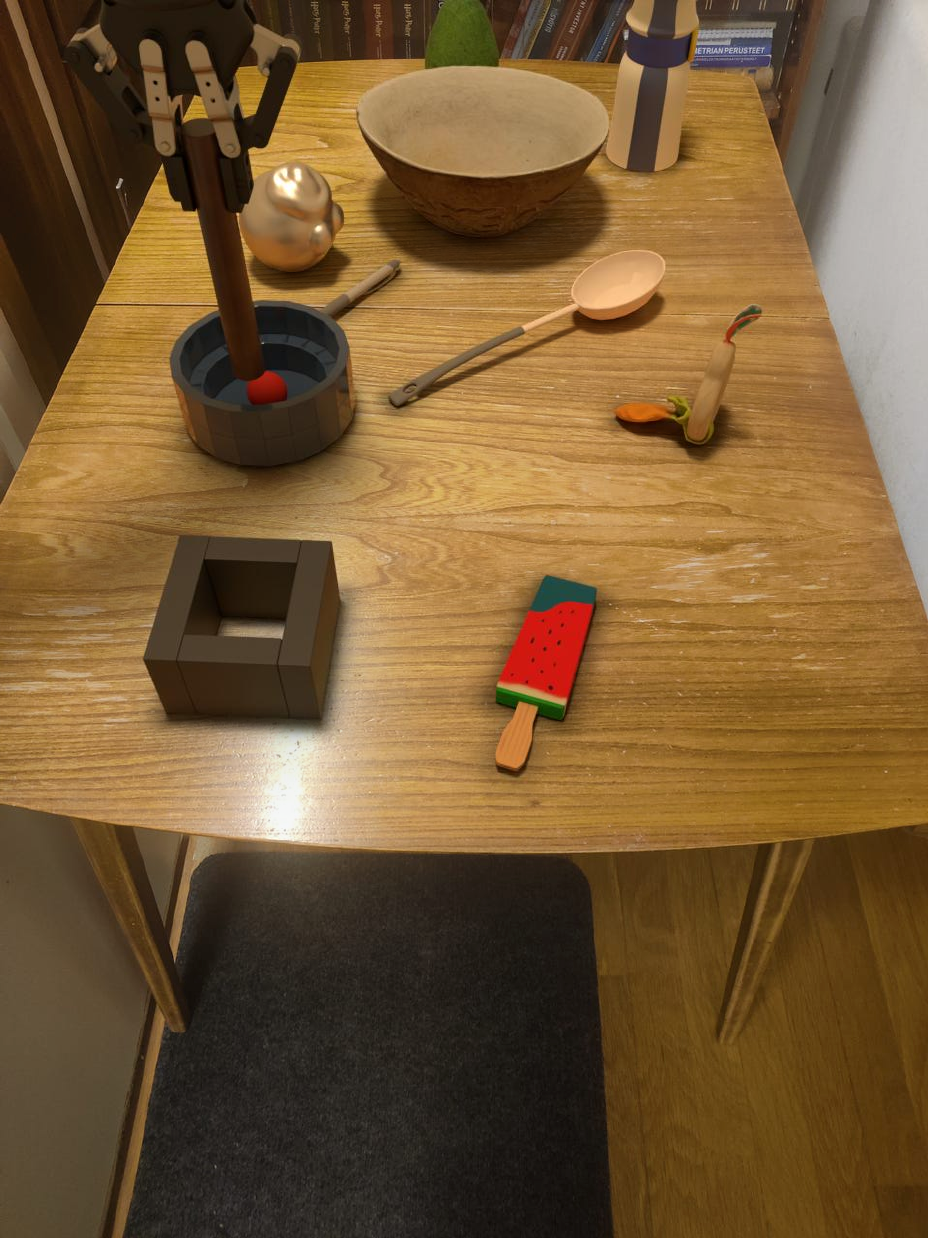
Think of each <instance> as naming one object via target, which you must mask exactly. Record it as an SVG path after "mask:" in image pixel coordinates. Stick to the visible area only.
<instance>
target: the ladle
mask: <svg viewBox="0 0 928 1238" xmlns="http://www.w3.org/2000/svg"><path fill="white" fill-rule="evenodd" d="M666 268H667V267H666V261H665V260H664V258H663V257H662V256H661V254H659V253H657V252H655V251H652V250H646V249H632V250H631V249H629V250H624V251H620V252H616V253H613V254H610V255H607V256H605V257H603V258H601V259H599V260H597V261H595V262H594V263H592V264H591V265H589V266H588V267H586V268H585V269H584V270H583V271H582V272H581V273H579V275H578V276H577V277H576V278H575V280H574V282H573V284H572V286H571V287H570V289H571V290H570V297H571V301H572V303H571V304H569V305H567V306H564V307H563V308H560V309H558V310H556V311H553V312H551V313H549V314H546V315H544V316H542V317H540V318H537V319H535V320H533V321H530V322H528V323H526V324H523V325H520V326H518V327H516V328H513V329H511V330H509V331H506V332H504V333H501V334H499V335H497V336H495V337H493V338H490V339H488V340H486V341H484V342H483V343H480V344H478V345H476V346H474V347H472V348H470V349H468V350H466V351H464V352H462V353H460V354H459V355H456V356H454V357H452V358H451V359H449V360H447V361H445V362H442V363H441V364H440V365H437V366H436V367H433V368H432V369H430V370H428V371H426V372H425V373H423V374H421V375H419V376H416V377H415V378H413V379H411V380H410V381H408V382H407V383H406V384H404V385H402V386H400V387H399V388H397V389H396V390H394V391H392V392H390V393H389V394H388V396H387V397H388V399H389V401H390V402H391V403H392V404H393V405H394V406H395V407H400V406H401V405H403V404H404V403H406V402H407V401H409V400H411V399H413V397H414V396H415V395H418V394H420V393H421V392H423V391H424V390H425V389H426V388H428V387H429V386H432V385H433V384H434V383H435V382H437V381H438V380H440V379H441V378H443V377H444V376H446V375H447V374H448V373H450V372H451V371H453V370H455V369H457V368H459V367H460V366H462V365H464V364H466V363H468V362H470V361H471V360H473V359H476V358H477V357H479V356H481V355H483V354H485V353H487V352H489V351H491V350H493V349H495V348H497V347H499V346H501V345H504V344H506V343H507V342H510V341H512V340H514V339H517V338H519V337H521V336H522V335H525V334H526V333H529V332H530V331H534V330H536V329H538V328H540V327H542V326H545V325H547V324H549V323H552V322H553V321H556V320H557V319H560V318H562V317H566V316H567V315H569V314H572V313H574V312H576V311H577V312H579V313H580V314H582V315H584V316H586V317H588V318H589V319H592V320H599V321H604V320H605V321H606V320H614V319H617V318H618V319H619V318H621V317H625V316H627V315H629V314H631V313H633V312H636V311H637V310H639V309H640V308H641V307H642V306H645V304H647V303H648V301H649V300H650V299H651V298H652V297H653V296H654V295H655V293H656V292H657V291H658V290H659V289H660V286H661V284H662V282H663V280H664V277H665V273H666ZM411 387H416V388H415V389H414V390H413V391H411V392H407V393H406V392H405V391H406V390H407V389H409V388H411Z"/></svg>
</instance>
